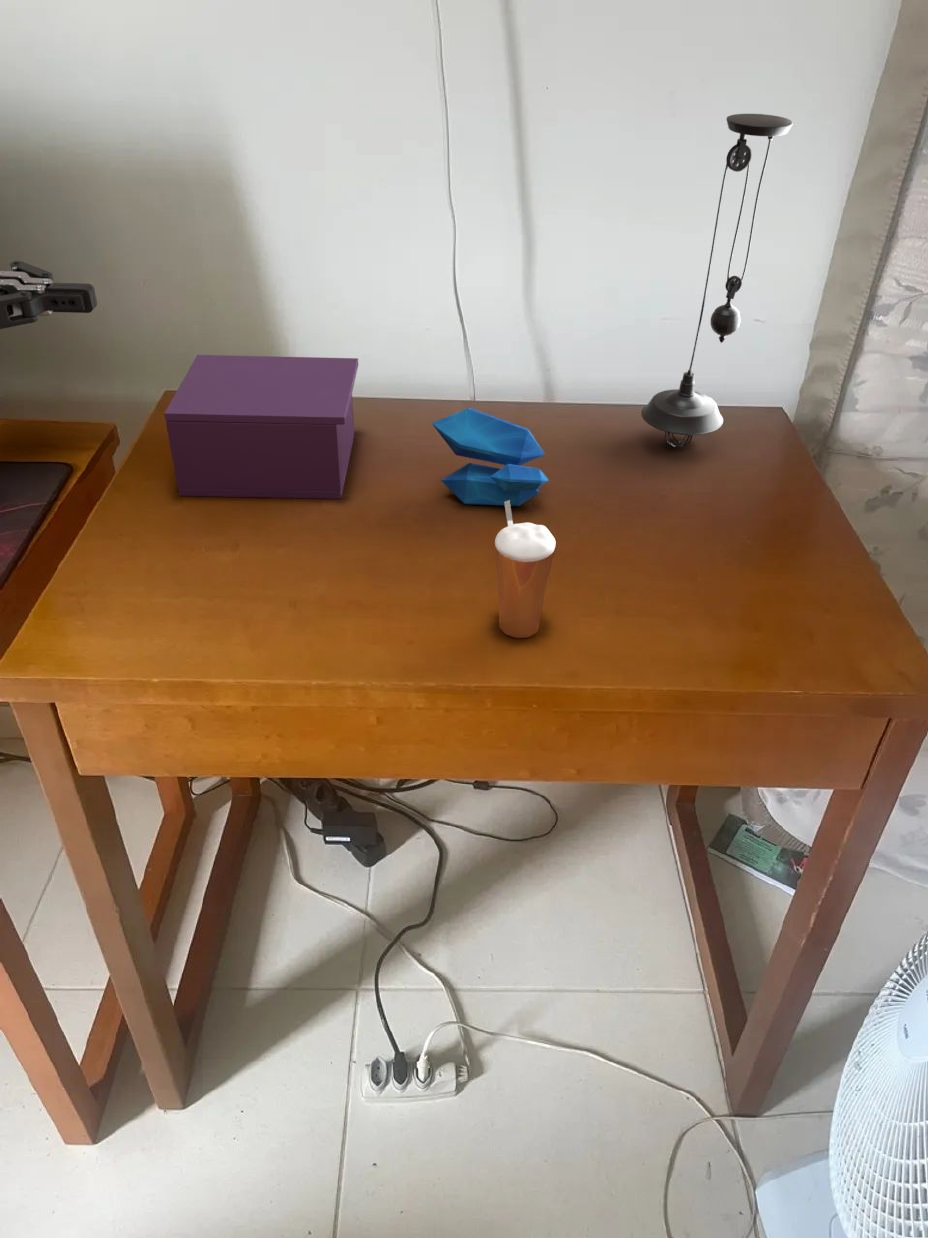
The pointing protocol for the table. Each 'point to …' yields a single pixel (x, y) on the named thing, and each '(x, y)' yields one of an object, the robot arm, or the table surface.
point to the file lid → (265, 390)
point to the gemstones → (491, 459)
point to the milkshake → (522, 575)
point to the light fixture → (684, 405)
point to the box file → (261, 458)
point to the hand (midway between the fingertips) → (93, 298)
